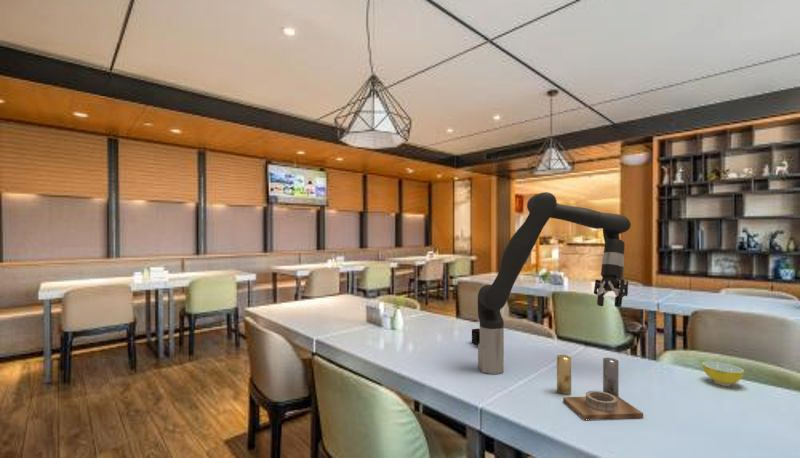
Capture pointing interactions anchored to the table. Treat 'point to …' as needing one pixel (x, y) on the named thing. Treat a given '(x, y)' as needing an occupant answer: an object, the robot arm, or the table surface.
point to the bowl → (723, 373)
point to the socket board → (602, 414)
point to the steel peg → (611, 376)
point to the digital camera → (476, 336)
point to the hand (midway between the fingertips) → (608, 306)
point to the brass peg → (564, 374)
